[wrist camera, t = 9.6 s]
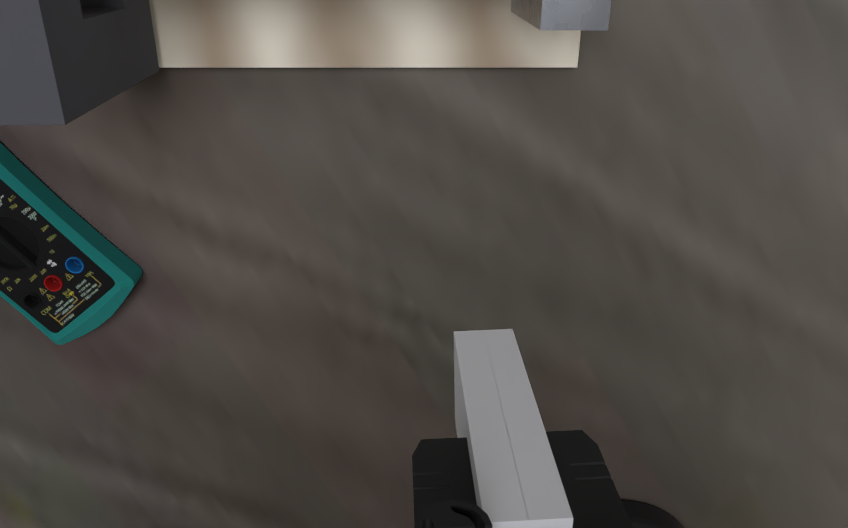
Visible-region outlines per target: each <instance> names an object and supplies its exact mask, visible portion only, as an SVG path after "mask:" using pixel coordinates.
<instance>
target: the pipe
mask: <svg viewBox="0 0 848 528" xmlns="http://www.w3.org/2000/svg"><path fill="white" fill-rule="evenodd" d="M610 7H611V0H511V12H512V13H514V14H515V15H517V16H518V17H520V18H522V19H523V20H525V21H526V22H528V23H529V24H531V25H533V26H534V27H536V28H537V29H539V30H608V25H609V16H610Z"/></svg>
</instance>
